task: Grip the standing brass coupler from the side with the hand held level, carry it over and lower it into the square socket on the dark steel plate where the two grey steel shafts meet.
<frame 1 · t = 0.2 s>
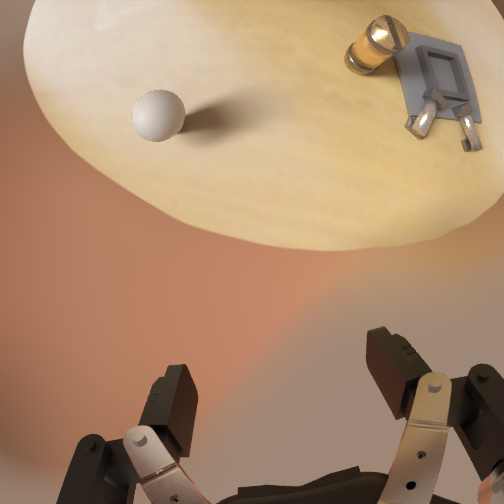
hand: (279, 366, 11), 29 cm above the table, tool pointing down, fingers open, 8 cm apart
stand: (437, 76, 32), on the table
shaft a: (461, 128, 34), on the table
gold cylindrical piece: (358, 61, 32), on the table
shaft b: (420, 114, 34), on the table
lightbulb: (175, 126, 35), on the table
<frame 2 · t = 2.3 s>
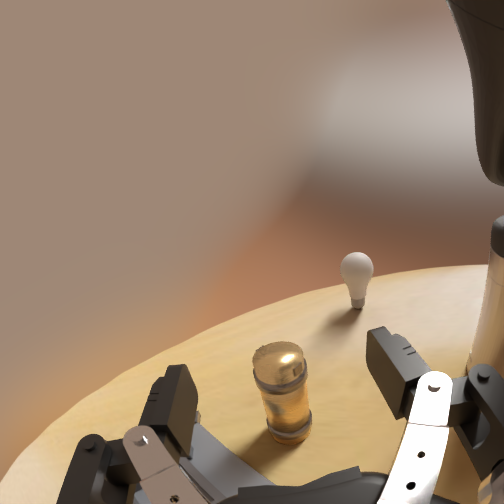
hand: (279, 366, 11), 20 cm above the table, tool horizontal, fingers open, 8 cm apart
gold cylindrical piece: (291, 429, 27), on the table
lightbulb: (358, 308, 50), on the table
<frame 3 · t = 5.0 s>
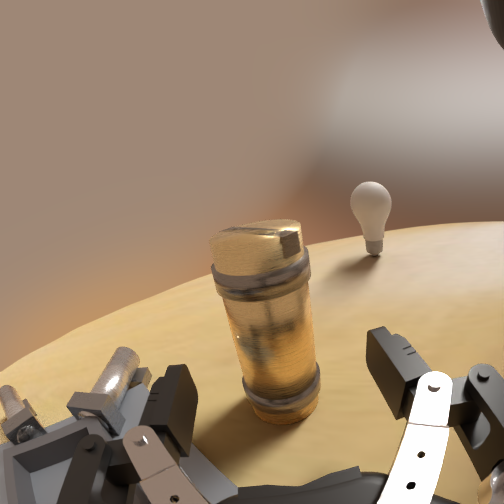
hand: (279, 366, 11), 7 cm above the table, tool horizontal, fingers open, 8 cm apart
shaft a: (32, 432, 14), on the table
gold cylindrical piece: (285, 399, 17), on the table
shaft b: (123, 406, 18), on the table
lightbulb: (374, 256, 39), on the table
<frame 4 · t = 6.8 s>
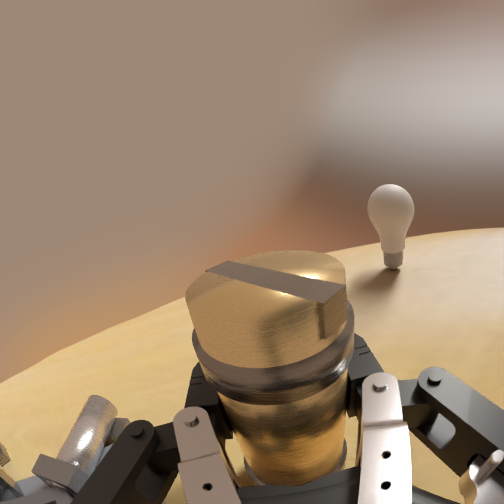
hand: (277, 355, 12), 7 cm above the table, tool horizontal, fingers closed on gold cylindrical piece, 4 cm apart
shaft a: (6, 481, 8), on the table
gold cylindrical piece: (298, 472, 11), on the table, touching gripper
shaft b: (100, 464, 12), on the table
lightbulb: (393, 270, 33), on the table
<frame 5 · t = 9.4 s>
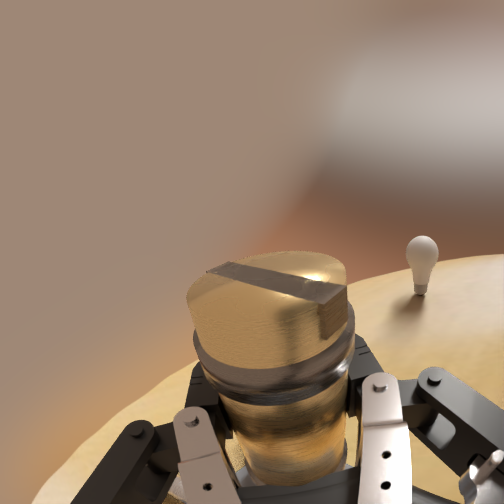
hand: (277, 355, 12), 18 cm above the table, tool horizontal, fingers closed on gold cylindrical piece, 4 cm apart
shaft a: (187, 495, 18), on the table
gold cylindrical piece: (299, 472, 11), point 11 cm above the table, touching gripper
lightbulb: (420, 295, 44), on the table
when the fingers open (9 cm above the table, at t = 12.2 s): gold cylindrical piece stays where it is, resting on stand.
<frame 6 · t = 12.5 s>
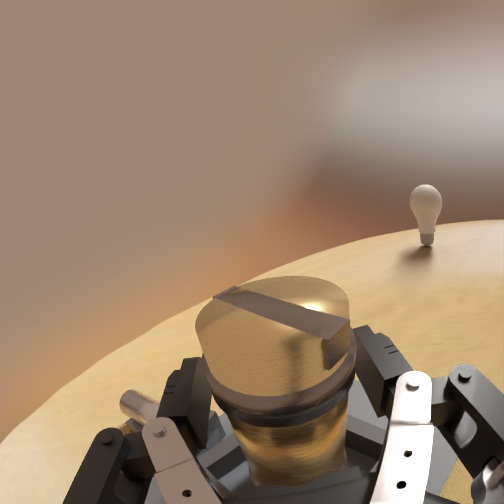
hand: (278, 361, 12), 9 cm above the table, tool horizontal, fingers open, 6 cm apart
stand: (300, 484, 12), on the table
shaft a: (175, 437, 17), on the table
gold cylindrical piece: (300, 479, 12), point 1 cm above the table, touching stand
lightbulb: (427, 247, 43), on the table
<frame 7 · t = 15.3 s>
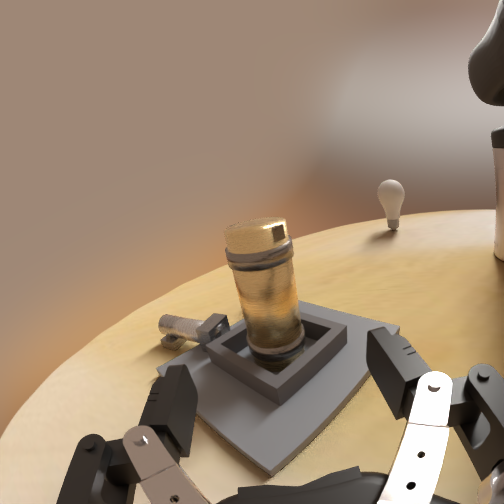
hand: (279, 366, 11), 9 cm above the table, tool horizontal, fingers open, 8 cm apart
stand: (279, 362, 24), on the table
shaft a: (196, 346, 29), on the table
gold cylindrical piece: (279, 355, 24), point 1 cm above the table, touching stand
lightbulb: (393, 230, 55), on the table
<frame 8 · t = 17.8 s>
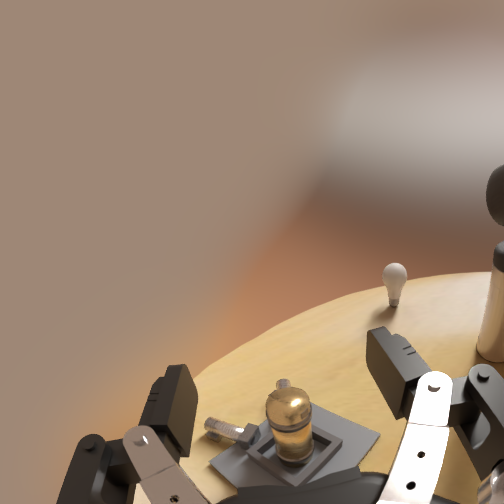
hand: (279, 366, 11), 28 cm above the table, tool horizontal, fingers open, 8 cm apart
stand: (295, 457, 30), on the table
shaft a: (234, 439, 35), on the table
gold cylindrical piece: (295, 454, 30), point 1 cm above the table, touching stand
shaft b: (287, 408, 40), on the table
lightbulb: (393, 306, 61), on the table
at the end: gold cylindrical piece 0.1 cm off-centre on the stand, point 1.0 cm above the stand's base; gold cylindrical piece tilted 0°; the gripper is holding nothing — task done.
